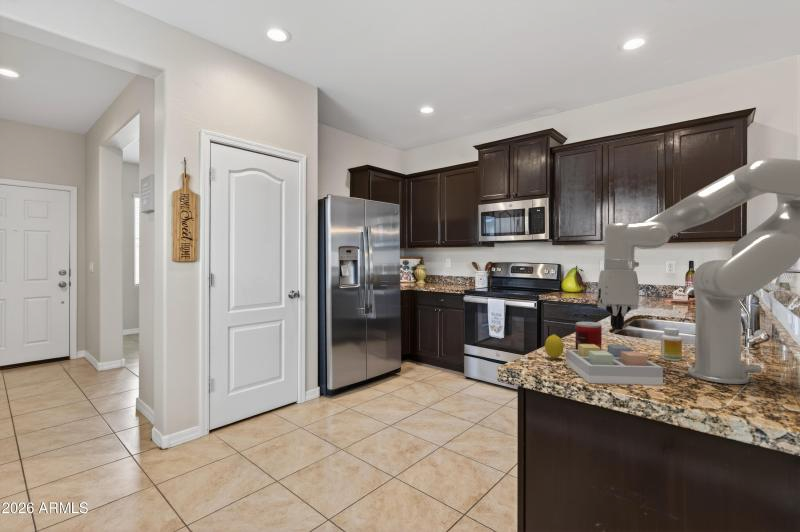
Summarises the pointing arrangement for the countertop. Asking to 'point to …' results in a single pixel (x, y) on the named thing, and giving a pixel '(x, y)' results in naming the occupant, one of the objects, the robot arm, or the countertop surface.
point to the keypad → (615, 371)
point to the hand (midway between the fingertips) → (617, 328)
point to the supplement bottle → (671, 345)
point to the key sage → (600, 358)
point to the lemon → (554, 346)
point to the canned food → (588, 333)
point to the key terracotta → (633, 358)
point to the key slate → (618, 349)
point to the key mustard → (586, 349)
